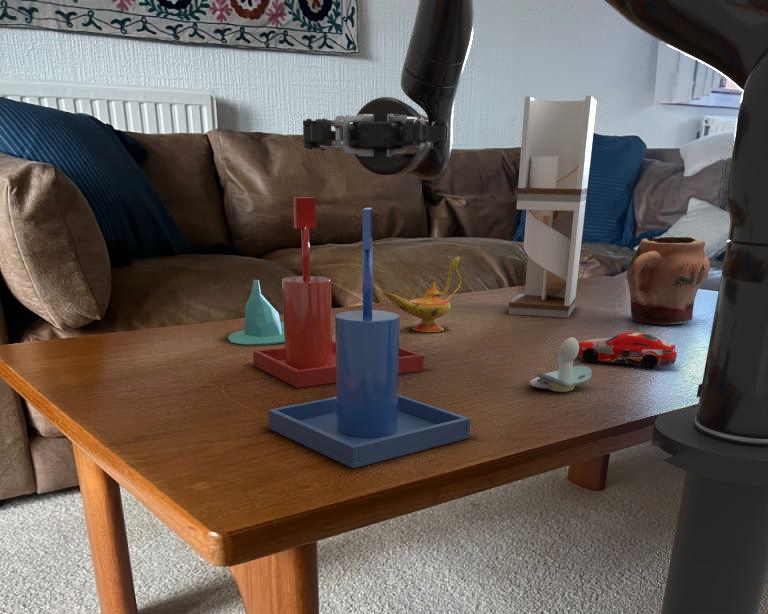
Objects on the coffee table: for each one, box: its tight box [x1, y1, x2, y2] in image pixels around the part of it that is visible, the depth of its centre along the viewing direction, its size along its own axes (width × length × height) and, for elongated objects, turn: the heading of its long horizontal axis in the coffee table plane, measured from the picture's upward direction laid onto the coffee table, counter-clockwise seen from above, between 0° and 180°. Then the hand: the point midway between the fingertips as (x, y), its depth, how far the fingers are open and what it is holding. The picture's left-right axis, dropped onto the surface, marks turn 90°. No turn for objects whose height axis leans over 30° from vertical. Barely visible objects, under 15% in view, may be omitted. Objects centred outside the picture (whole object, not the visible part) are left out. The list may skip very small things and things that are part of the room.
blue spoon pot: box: [334, 207, 401, 438], centre depth 73 cm, size 6×6×20 cm
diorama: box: [227, 279, 285, 346], centre depth 121 cm, size 12×20×9 cm, turn 149°
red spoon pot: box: [281, 196, 333, 370], centre depth 96 cm, size 6×6×20 cm
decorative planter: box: [626, 236, 711, 325], centre depth 133 cm, size 20×12×14 cm, turn 137°
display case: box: [508, 95, 598, 319], centre depth 138 cm, size 11×11×35 cm
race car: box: [576, 331, 678, 370], centre depth 106 cm, size 13×5×4 cm, turn 64°
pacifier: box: [529, 336, 593, 393], centre depth 93 cm, size 7×6×6 cm
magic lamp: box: [378, 256, 462, 333], centre depth 124 cm, size 7×18×11 cm, turn 132°
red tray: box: [252, 340, 425, 389], centre depth 102 cm, size 18×13×2 cm
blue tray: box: [267, 393, 471, 469], centre depth 77 cm, size 14×14×2 cm
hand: (364, 131), depth 72 cm, fingers open, 8 cm apart
